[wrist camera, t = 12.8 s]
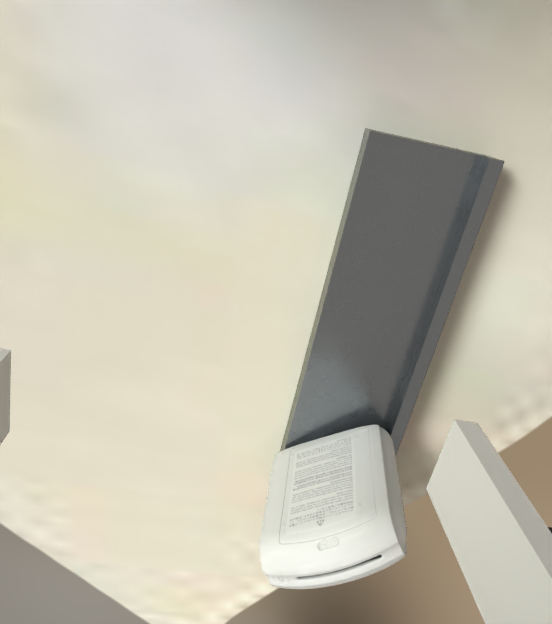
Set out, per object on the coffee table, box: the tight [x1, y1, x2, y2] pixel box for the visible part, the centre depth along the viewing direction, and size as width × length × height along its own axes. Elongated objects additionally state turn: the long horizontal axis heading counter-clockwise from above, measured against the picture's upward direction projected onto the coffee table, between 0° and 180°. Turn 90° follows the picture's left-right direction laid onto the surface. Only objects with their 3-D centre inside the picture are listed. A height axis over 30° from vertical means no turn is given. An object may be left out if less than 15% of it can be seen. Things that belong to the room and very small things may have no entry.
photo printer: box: [259, 425, 407, 589], centre depth 39 cm, size 10×4×12 cm, turn 114°
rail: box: [280, 128, 504, 456], centre depth 40 cm, size 32×9×6 cm, turn 168°
